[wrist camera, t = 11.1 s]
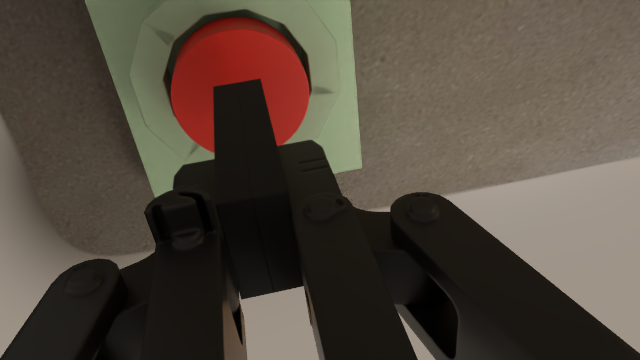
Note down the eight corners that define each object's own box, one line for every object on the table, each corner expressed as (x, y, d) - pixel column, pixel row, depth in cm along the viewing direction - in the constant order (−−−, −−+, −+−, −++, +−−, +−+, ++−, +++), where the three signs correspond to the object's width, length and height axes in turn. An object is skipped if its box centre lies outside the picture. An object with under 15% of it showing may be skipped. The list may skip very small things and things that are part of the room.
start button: (309, 126, 21) (316, 145, 20) (191, 148, 20) (190, 169, 19) (293, 6, 18) (300, 18, 17) (157, 28, 18) (152, 41, 16)
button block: (351, 147, 26) (372, 187, 23) (161, 183, 25) (154, 231, 22) (329, -114, 20) (354, -111, 16) (72, -79, 19) (43, -69, 15)
